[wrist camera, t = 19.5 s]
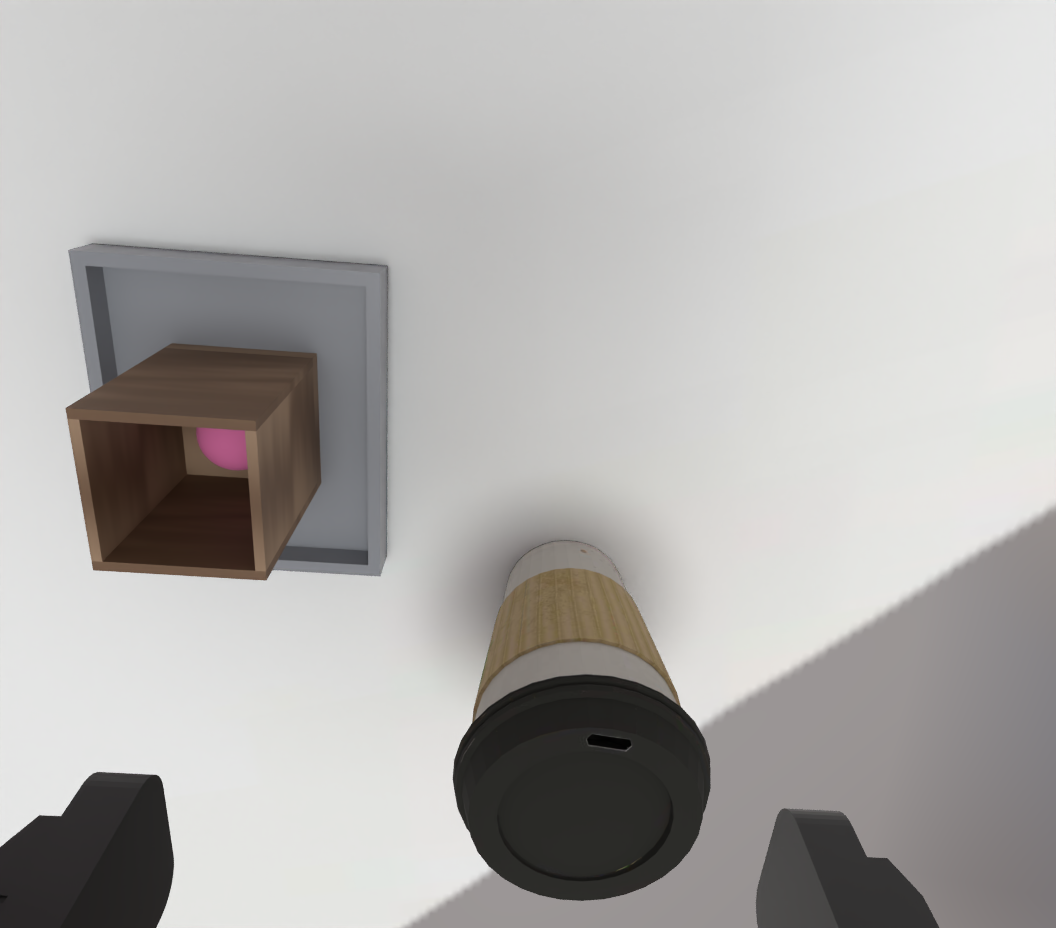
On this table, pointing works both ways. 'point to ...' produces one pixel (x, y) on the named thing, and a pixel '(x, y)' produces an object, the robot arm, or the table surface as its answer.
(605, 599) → the coffee cup
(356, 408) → the tray
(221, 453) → the ball
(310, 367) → the pen cup
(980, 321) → the table surface
